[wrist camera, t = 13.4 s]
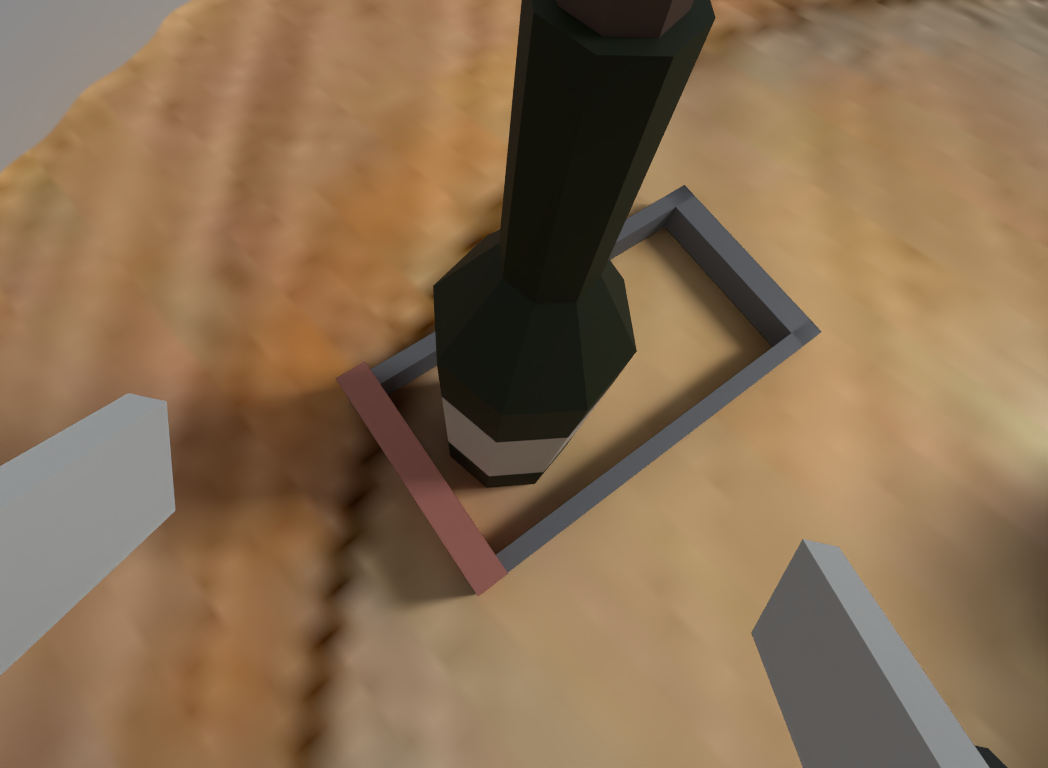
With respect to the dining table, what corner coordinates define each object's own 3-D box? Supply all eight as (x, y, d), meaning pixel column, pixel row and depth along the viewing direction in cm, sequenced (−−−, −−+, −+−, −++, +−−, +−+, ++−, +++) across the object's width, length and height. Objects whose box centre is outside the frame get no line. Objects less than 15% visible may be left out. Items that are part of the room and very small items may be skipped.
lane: (672, 205, 44) (692, 171, 41) (801, 345, 41) (834, 322, 37) (349, 399, 36) (335, 378, 32) (476, 594, 33) (478, 596, 29)
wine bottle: (478, 513, 34) (525, 229, 6) (424, 402, 37) (278, -179, 8) (588, 455, 36) (996, 46, 8) (530, 353, 39) (700, -246, 10)
